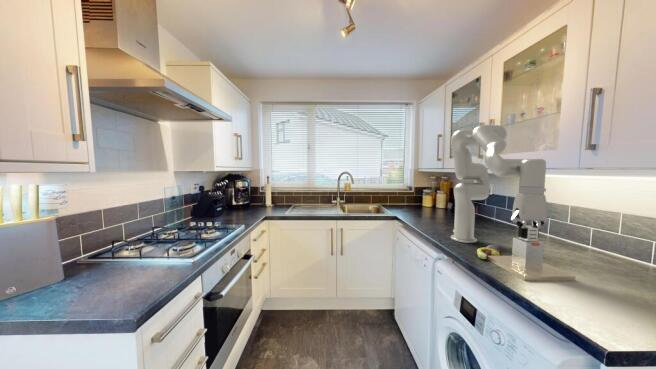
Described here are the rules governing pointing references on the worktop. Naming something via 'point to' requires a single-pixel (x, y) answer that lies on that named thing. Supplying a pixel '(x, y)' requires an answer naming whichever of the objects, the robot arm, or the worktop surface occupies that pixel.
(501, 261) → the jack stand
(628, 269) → the worktop surface
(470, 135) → the robot arm
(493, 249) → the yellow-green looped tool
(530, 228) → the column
